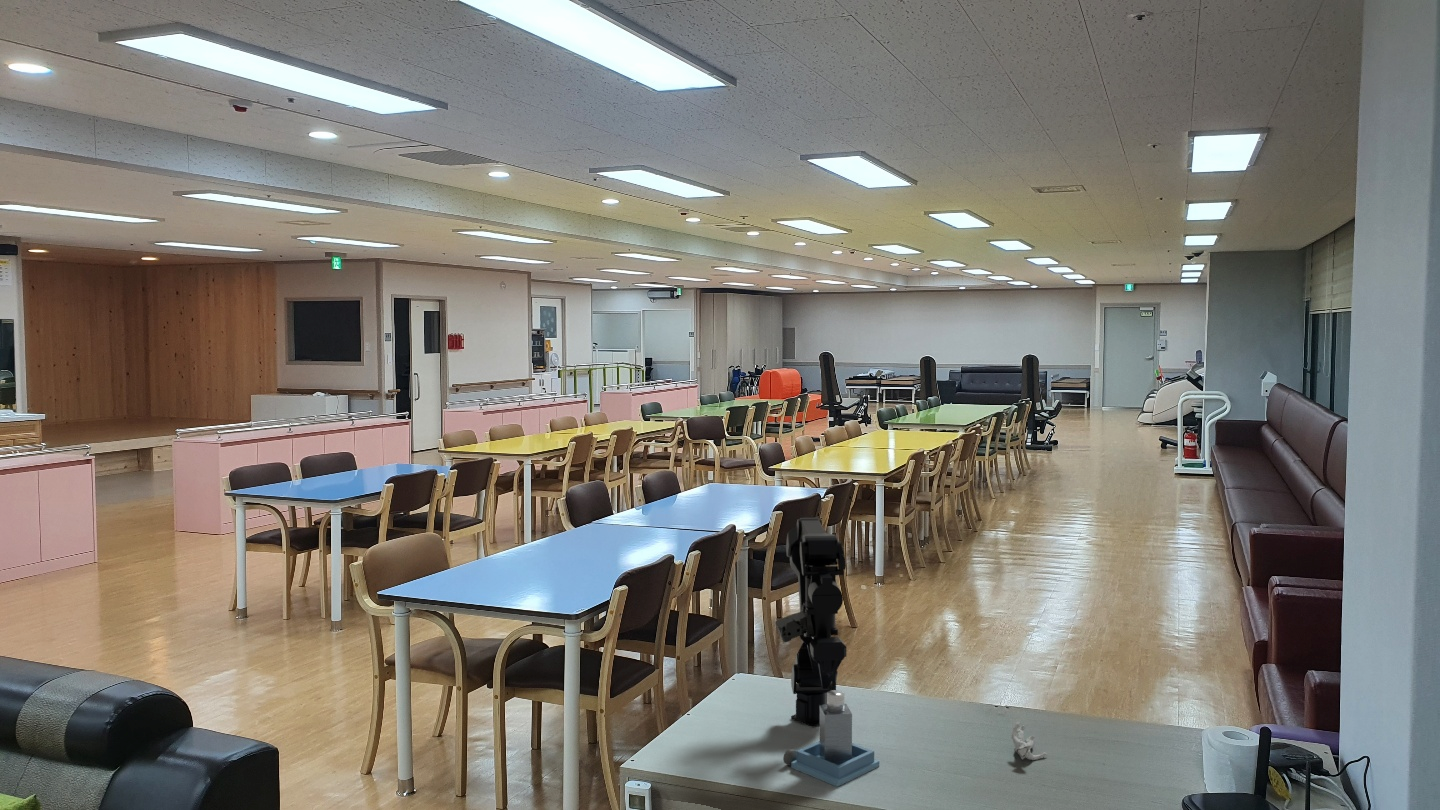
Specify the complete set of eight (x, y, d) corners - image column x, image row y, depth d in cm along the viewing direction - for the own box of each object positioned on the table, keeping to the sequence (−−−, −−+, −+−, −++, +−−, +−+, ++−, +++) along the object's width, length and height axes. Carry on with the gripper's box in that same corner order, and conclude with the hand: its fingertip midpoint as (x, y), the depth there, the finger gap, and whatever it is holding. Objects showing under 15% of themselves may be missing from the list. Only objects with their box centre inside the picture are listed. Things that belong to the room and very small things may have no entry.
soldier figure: (1046, 749, 202) (1053, 755, 190) (1027, 766, 202) (1034, 772, 190) (1017, 717, 204) (1022, 721, 193) (998, 733, 204) (1003, 738, 192)
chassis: (830, 745, 202) (830, 730, 201) (881, 765, 193) (881, 749, 192) (783, 766, 192) (783, 750, 192) (834, 787, 184) (834, 771, 183)
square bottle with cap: (819, 756, 194) (819, 688, 193) (845, 755, 195) (846, 687, 193) (824, 768, 189) (824, 698, 188) (851, 767, 190) (852, 697, 188)
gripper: (771, 589, 207) (771, 666, 209) (786, 615, 189) (787, 699, 190) (826, 587, 209) (826, 664, 210) (847, 613, 190) (847, 696, 191)
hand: (820, 680), depth 200 cm, fingers open, 9 cm apart
